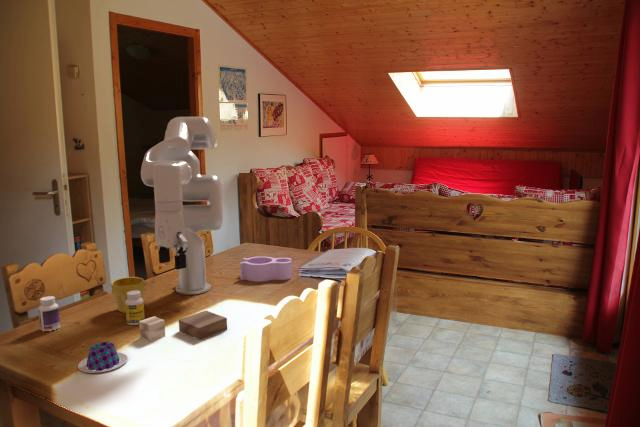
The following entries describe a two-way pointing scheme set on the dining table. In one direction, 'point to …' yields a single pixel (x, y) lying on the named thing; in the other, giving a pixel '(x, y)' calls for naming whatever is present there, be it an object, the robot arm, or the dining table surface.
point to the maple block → (152, 328)
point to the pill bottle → (49, 314)
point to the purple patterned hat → (102, 358)
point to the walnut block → (202, 325)
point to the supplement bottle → (134, 308)
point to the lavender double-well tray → (265, 269)
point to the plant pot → (125, 289)
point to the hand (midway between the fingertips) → (172, 265)
